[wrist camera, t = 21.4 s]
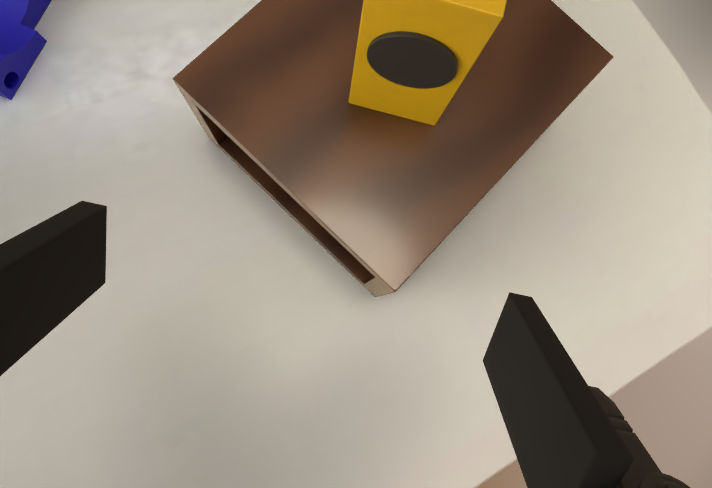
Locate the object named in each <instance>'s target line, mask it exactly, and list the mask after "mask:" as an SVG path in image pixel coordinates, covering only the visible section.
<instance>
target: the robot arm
mask: <svg viewBox="0 0 712 488" xmlns="http://www.w3.org/2000/svg"><path fill="white" fill-rule="evenodd" d="M106 214H107V206H104V205H99V204H94V203H90V202H85V201H81V202H79V203H77V204H75V205H73V206H71V207H69V208H68V209H66V210H64V211H62V212H60V213H58V214H56V215H55V216H53V217H51V218H49V219H47V220H45V221H43V222H41V223H40V224H38V225H36V226H34V227H32V228H30V229H28V230H26V231H25V232H23V233H21V234H19V235H17V236H15V237H13V238H11V239H10V240H8V241H6V242H4V243H2V244H0V376H1V375H2V374H3V373H4V372H5V371H7V370H8V369H9V368H10V367H11V366H12V365H13V364H14V363H16V362H17V361H18V360H19V359H20V358H21V357H22V356H23V355H25V354H26V353H27V352H28V351H29V350H30V349H31V348H32V347H34V346H35V345H36V344H37V343H38V342H39V341H40V340H41V339H43V338H44V337H45V336H46V335H47V334H48V333H49V332H50V331H52V330H53V329H54V328H55V327H56V326H57V325H58V324H59V323H61V322H62V321H63V320H64V319H65V318H66V317H67V316H68V315H70V314H71V313H72V312H73V311H74V310H75V309H76V308H77V307H79V306H80V305H81V304H82V303H83V302H84V301H85V300H86V299H88V298H89V297H90V296H91V295H92V294H93V293H94V292H95V291H97V290H98V289H99V288H100V287H101V286H102V285H103V284H104V283H105V269H106ZM483 362H484V365H485V368H486V371H487V374H488V377H489V379H490V382H491V385H492V388H493V391H494V394H495V396H496V399H497V402H498V405H499V408H500V411H501V414H502V416H503V419H504V422H505V425H506V428H507V431H508V433H509V436H510V439H511V442H512V445H513V448H514V450H515V453H516V456H517V459H518V462H519V465H520V468H521V470H522V473H523V476H524V479H525V482H526V485H527V487H528V488H690V487H689V486H687V485H686V484H685V483H683V482H682V481H680V480H678V479H676V478H673V477H672V476H670V475H666V474H663V473H662V472H661V471H660V470H659V468H658V467H657V465H656V464H655V462H654V461H653V459H652V458H651V456H650V455H649V453H648V452H647V451H646V449H645V447H644V446H643V444H642V443H641V441H640V440H639V439H638V437H637V436H636V434H635V433H633V432H632V431H633V430H632V428H631V427H630V425H629V424H628V422H627V421H625V420H624V416H623V415H622V413H621V412H620V411H619V409H618V408H617V406H616V405H615V403H614V402H613V401H612V400H611V399H610V398H609V397H607V396H606V395H605V394H604V393H603V392H602V391H601V390H600V389H599V388H596V387H591V386H588V385H587V383H586V382H585V380H584V379H583V377H582V375H581V374H580V372H579V371H578V369H577V368H576V366H575V364H574V363H573V361H572V360H571V358H570V357H569V355H568V353H567V352H566V350H565V349H564V347H563V346H562V344H561V342H560V341H559V339H558V338H557V336H556V334H555V333H554V331H553V330H552V328H551V327H550V325H549V323H548V322H547V320H546V319H545V317H544V316H543V314H542V312H541V311H540V309H539V308H538V306H537V305H536V303H535V301H534V300H533V298H532V297H528V296H524V295H519V294H514V293H510V292H509V295H508V298H507V300H506V303H505V305H504V308H503V310H502V313H501V315H500V318H499V320H498V323H497V326H496V328H495V331H494V333H493V336H492V338H491V341H490V343H489V346H488V348H487V351H486V354H485V356H484V359H483Z"/></svg>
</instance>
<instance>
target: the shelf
mask: <svg viewBox="0 0 712 488" xmlns="http://www.w3.org/2000/svg"><path fill="white" fill-rule="evenodd" d="M362 7H363V0H262V1H260V2H259V3H258V4H257V5H256V6H255V7H254V8H252V9H251V10H250V11H249V12H248V13H247V14H246V15H244V16H243V17H242V18H241V19H240V20H239V21H238V22H236V23H235V24H234V25H233V26H232V27H231V28H230V29H228V30H227V31H226V32H225V33H224V34H223V35H222V36H220V37H219V38H218V39H217V40H216V41H215V42H214V43H212V44H211V45H210V46H209V47H208V48H207V49H206V50H204V51H203V52H202V53H201V54H200V55H199V56H198V57H196V58H195V59H194V60H193V61H192V62H191V63H190V64H188V65H187V66H186V67H185V68H184V69H183V70H182V71H180V72H179V73H178V74H177V75H176V76H175V77H174V78H173V80H174V82H175V83H176V85H177V87H178V88H179V90H180V91H181V93H182V95H183V96H184V98H185V100H186V101H187V103H188V104H189V106H190V108H191V109H192V111H193V112H194V114H195V116H196V117H197V119H198V121H199V122H200V124H201V125H202V127H203V129H204V130H205V132H206V133H207V135H208V137H209V138H210V139H211V140H212V141H213V142H214V143H215V144H216V145H218V146H219V147H220V148H221V149H222V150H223V151H224V152H225V153H226V154H227V155H228V156H229V157H230V158H231V159H232V160H233V161H234V162H235V163H236V164H237V165H238V166H239V167H240V168H241V169H243V170H244V171H245V172H246V173H247V174H248V175H249V176H250V177H251V178H252V179H253V180H254V181H255V182H256V183H257V184H258V185H259V186H260V187H261V188H262V189H263V190H264V191H265V192H266V193H268V194H269V195H270V196H271V197H272V198H273V199H274V200H275V201H276V202H277V203H278V204H279V205H280V206H281V207H282V208H283V209H284V210H285V211H286V212H287V213H288V214H289V215H290V216H291V217H293V218H294V219H295V220H296V221H297V222H298V223H299V224H300V225H301V226H302V227H303V228H304V229H305V230H306V231H307V232H308V233H309V234H310V235H311V236H312V237H313V238H314V239H315V240H316V241H318V242H319V243H320V244H321V245H322V246H323V247H324V248H325V249H326V250H327V251H328V252H329V253H330V254H331V255H332V256H333V257H334V258H335V259H336V260H337V261H338V262H339V263H340V264H341V265H343V266H344V267H345V268H346V269H347V270H348V271H349V272H350V273H351V274H352V275H353V276H354V277H355V278H356V279H357V280H358V281H359V282H360V283H361V284H363V286H364V287H365V288H366V289H367V290H369V291H370V292H371V293H372V294H373V295H374V296H375V297H377V296H380V295H384V294H388V293H392V292H395V291H397V289H398V288H399V287H400V286H401V285H402V284H403V283H404V282H405V281H406V280H407V279H408V278H409V277H410V275H411V274H412V273H413V272H414V271H415V270H416V269H417V268H418V267H419V266H420V265H421V264H422V263H423V261H424V260H425V259H426V258H427V257H428V256H429V255H430V254H431V253H432V252H433V251H434V250H435V249H436V248H437V246H438V245H439V244H440V243H441V242H442V241H443V240H444V239H445V238H446V237H447V236H448V235H449V234H450V232H451V231H452V230H453V229H454V228H455V227H456V226H457V225H458V224H459V223H460V222H461V221H462V220H463V218H464V217H465V216H466V215H467V214H468V213H469V212H470V211H471V210H472V209H473V208H474V207H475V206H476V204H477V203H478V202H479V201H480V200H481V199H482V198H483V197H484V196H485V195H486V194H487V193H488V192H489V191H490V189H491V188H492V187H493V186H494V185H495V184H496V183H497V182H498V181H499V180H500V179H501V178H502V177H503V175H504V174H505V173H506V172H507V171H508V170H509V169H510V168H511V167H512V166H513V165H514V164H515V163H516V161H517V160H518V159H519V158H520V157H521V156H522V155H523V154H524V153H525V152H526V151H527V150H528V149H529V147H530V146H531V145H532V144H533V143H534V142H535V141H536V140H537V139H538V138H539V137H540V136H541V135H542V134H543V132H544V131H545V130H546V129H547V128H548V127H549V126H550V125H551V124H552V123H553V122H554V121H555V120H556V118H557V117H558V116H559V115H560V114H561V113H562V112H563V111H564V110H565V109H566V108H567V107H568V106H569V104H570V103H571V102H572V101H573V100H574V99H575V98H576V97H577V96H578V95H579V94H580V93H581V92H582V90H583V89H584V88H585V87H586V86H587V85H588V84H589V83H590V82H591V81H592V80H593V79H594V78H595V77H596V75H597V74H598V73H599V72H600V71H601V70H602V69H603V68H604V67H605V66H606V65H607V64H608V63H609V61H610V60H611V59H612V58H613V56H612V55H611V54H610V53H609V52H608V51H606V50H605V49H604V48H603V47H602V46H601V45H600V44H599V43H598V42H597V41H595V40H594V39H593V38H592V37H591V36H590V35H589V34H588V33H587V32H585V31H584V30H583V29H582V28H581V27H580V26H579V25H578V24H577V23H576V22H574V21H573V20H572V19H571V18H570V17H569V16H568V15H567V14H566V13H565V12H563V11H562V10H561V9H560V8H559V7H558V6H557V5H556V4H555V3H554V2H552V1H551V0H507V2H506V6H505V11H504V16H503V18H502V20H501V21H500V23H499V24H498V26H497V28H496V29H495V31H494V32H493V34H492V36H491V37H490V39H489V40H488V42H487V44H486V45H485V47H484V48H483V50H482V51H481V53H480V55H479V56H478V58H477V59H476V61H475V63H474V64H473V66H472V67H471V69H470V71H469V72H468V74H467V75H466V77H465V78H464V80H463V82H462V83H461V85H460V86H459V88H458V90H457V91H456V93H455V94H454V96H453V98H452V99H451V101H450V102H449V104H448V105H447V107H446V109H445V110H444V112H443V113H442V115H441V117H440V118H439V120H438V121H437V123H436V125H435V126H433V125H430V124H426V123H422V122H418V121H415V120H411V119H407V118H403V117H399V116H396V115H392V114H388V113H384V112H380V111H377V110H373V109H369V108H365V107H362V106H358V105H354V104H350V103H349V95H350V88H351V81H352V75H353V68H354V61H355V54H356V48H357V41H358V34H359V27H360V21H361V14H362Z"/></svg>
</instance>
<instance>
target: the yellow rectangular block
mask: <svg viewBox="0 0 712 488" xmlns="http://www.w3.org/2000/svg"><path fill="white" fill-rule="evenodd" d="M506 2H507V0H363V7H362V14H361V21H360V27H359V34H358V41H357V48H356V54H355V61H354V68H353V75H352V81H351V88H350V95H349V103H350V104H354V105H358V106H362V107H365V108H369V109H373V110H377V111H380V112H384V113H388V114H392V115H396V116H399V117H403V118H407V119H411V120H415V121H418V122H422V123H426V124H430V125H433V126H435V125H436V123H437V121H438V120H439V118H440V117H441V115H442V113H443V112H444V110H445V109H446V107H447V105H448V104H449V102H450V101H451V99H452V98H453V96H454V94H455V93H456V91H457V90H458V88H459V86H460V85H461V83H462V82H463V80H464V78H465V77H466V75H467V74H468V72H469V71H470V69H471V67H472V66H473V64H474V63H475V61H476V59H477V58H478V56H479V55H480V53H481V51H482V50H483V48H484V47H485V45H486V44H487V42H488V40H489V39H490V37H491V36H492V34H493V32H494V31H495V29H496V28H497V26H498V24H499V23H500V21H501V20H502V18H503V16H504V11H505V6H506Z"/></svg>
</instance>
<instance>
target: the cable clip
mask: <svg viewBox="0 0 712 488" xmlns="http://www.w3.org/2000/svg"><path fill="white" fill-rule="evenodd" d="M50 1H51V0H0V95H1V96H3V97H5V98H8V99H10V100H11V99H12V98H13V96H14V94H15V93H16V91H17V89H18V88H19V86H20V84H21V83H22V81H23V79H24V78H25V76H26V74H27V73H28V71H29V69H30V68H31V66H32V64H33V63H34V61H35V60H36V58H37V56H38V55H39V53H40V51H41V50H42V48H43V46H44V45H45V43H46V40H45V39H44V38H43V37H42V36H41V35H40V34H39V33H38V32H37V31H36V30H34V28H35V26H36V24H37V23H38V21H39V19H40V18H41V16H42V15H43V13H44V11H45V10H46V8H47V6H48V5H49V3H50Z"/></svg>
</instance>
